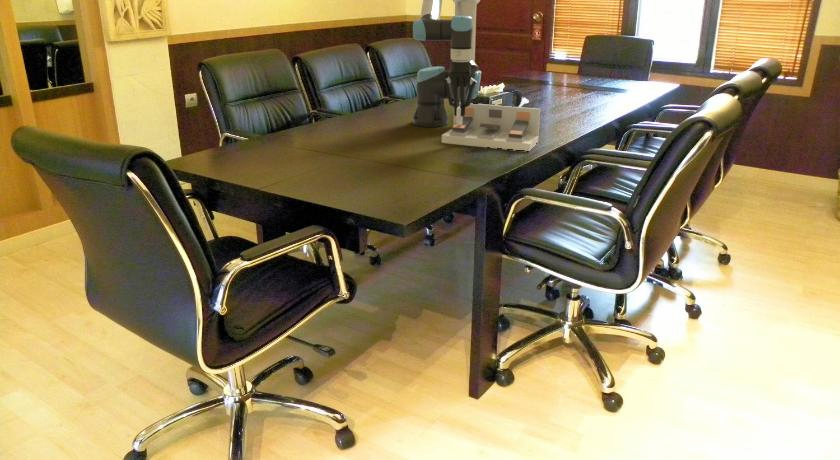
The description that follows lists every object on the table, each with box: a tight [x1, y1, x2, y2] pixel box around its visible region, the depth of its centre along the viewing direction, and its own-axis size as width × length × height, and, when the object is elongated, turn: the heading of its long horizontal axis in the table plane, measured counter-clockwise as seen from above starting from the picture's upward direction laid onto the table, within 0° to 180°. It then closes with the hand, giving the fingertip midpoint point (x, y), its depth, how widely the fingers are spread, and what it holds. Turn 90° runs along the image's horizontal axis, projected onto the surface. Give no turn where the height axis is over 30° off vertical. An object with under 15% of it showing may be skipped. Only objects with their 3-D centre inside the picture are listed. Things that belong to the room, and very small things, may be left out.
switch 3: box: [509, 120, 529, 138], centre depth 238 cm, size 5×10×1 cm, turn 158°
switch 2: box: [480, 123, 500, 129], centre depth 242 cm, size 5×10×1 cm, turn 158°
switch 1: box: [451, 117, 473, 132], centre depth 246 cm, size 5×10×1 cm, turn 158°
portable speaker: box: [479, 87, 523, 107], centre depth 298 cm, size 25×10×10 cm, turn 114°
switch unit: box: [441, 101, 541, 152], centre depth 242 cm, size 34×14×13 cm, turn 68°
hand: (459, 124), depth 242 cm, fingers closed
